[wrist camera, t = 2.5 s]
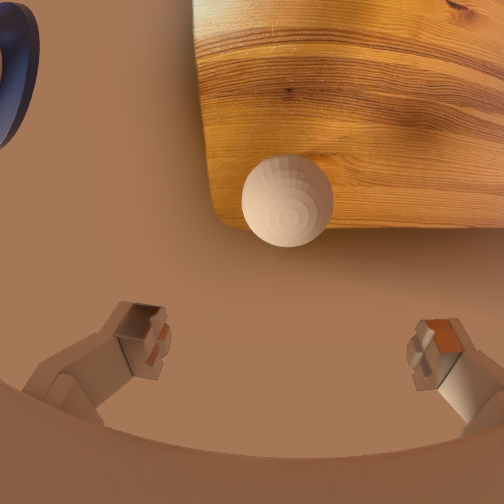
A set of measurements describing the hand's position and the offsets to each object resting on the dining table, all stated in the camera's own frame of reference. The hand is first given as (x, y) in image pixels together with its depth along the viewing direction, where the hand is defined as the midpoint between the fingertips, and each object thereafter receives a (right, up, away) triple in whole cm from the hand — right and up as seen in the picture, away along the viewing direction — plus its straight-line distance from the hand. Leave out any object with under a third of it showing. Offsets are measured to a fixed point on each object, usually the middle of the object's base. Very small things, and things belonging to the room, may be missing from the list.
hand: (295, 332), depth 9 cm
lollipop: (+2, +12, +21) cm, 24 cm away
